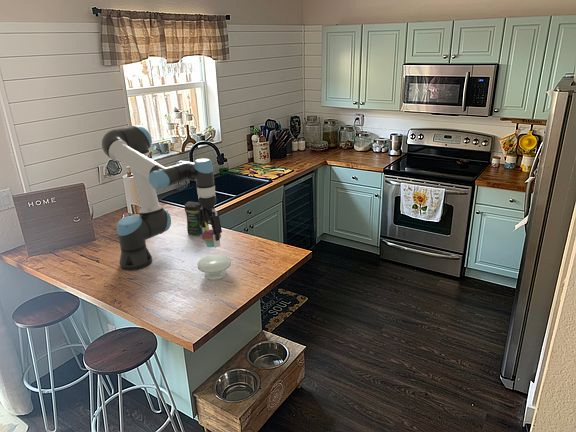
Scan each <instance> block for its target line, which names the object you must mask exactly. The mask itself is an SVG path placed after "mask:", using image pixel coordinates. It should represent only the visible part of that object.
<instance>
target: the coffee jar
mask: <svg viewBox="0 0 576 432" xmlns="http://www.w3.org/2000/svg"><path fill="white" fill-rule="evenodd" d="M198 205H199V201H187V202H186V203H185V204H184V211H185V215H186V228H187V229H186V231H187V234H188V235H192V236H202V234H203V227H202V225H200V224H199V207H198Z"/></svg>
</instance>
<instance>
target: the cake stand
mask: <svg viewBox="0 0 576 432" xmlns="http://www.w3.org/2000/svg"><path fill="white" fill-rule="evenodd" d="M231 265H232V260H231V258H230V257H229V256H227V255H224V254H212V255H208V256H205V257H202V258H200V259H199V260H198V262H197V270H199V271H200V272H202V273H203V275H204V278H205V279H207V280H208V281H218V280H221V279H223V278H225V277H226V276H227V270H228V269H229V268H230V267H231Z"/></svg>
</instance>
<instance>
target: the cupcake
mask: <svg viewBox="0 0 576 432" xmlns="http://www.w3.org/2000/svg"><path fill="white" fill-rule="evenodd" d="M205 225H206V228H207V231H205V232H203V234H202V235H201V239H202V241H204V242H205V245H206V247H207V248H215V247H214V241H213V233H214V232H213V229H209V230H208V227H209V226H207V223H206V222H205ZM219 237H220V239H221V238H222V234H221V233H219Z"/></svg>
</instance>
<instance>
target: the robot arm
mask: <svg viewBox="0 0 576 432" xmlns="http://www.w3.org/2000/svg"><path fill="white" fill-rule="evenodd" d="M152 144H153V139H152V136H151V134H150V132H149V131H148V130H147V128H146V127H145V126H142V125H130V126H127V127H121V128H117V129H111V130H109V131H107V132H106V133H105V134H104V136H103V137H102V139H101V149H102V150H103V152H104V154H105V155H106V156H107V157H108V158H110V159H112V160H113V161H118V162H121V163H123V164H124V165H126V166H127V167H129V168H130V170H131V173H132V177H133V181H134V185H135V190H136V193H137V197H138V201H139V205H140V209H139V211H138V212H139V213H138V214H132V215H128V216H124V217H122V218H121V219H120V220H118V222H117V223H116V234H117V236H118V240H119V241H118V242H119V246H120V251H121V252H120V258H119V267H120V269H122V270H124V271H138V270H142V269H144V268H147V267H149V266H150V265H151V264H152V263H153V256H152V255H151V253H150V251H149V249H148V247H147V244H146V241H147V240H148V239H151V238H154V237H157V236H158V235H161V234H164V233H165V232H167V231H168V230H169V229H170V228H171V224H172V218H171V213H170V212H168V210H167V209H165V208H164V206H163V205H162V204H160V203H159V199H158V195H157V191H156V190H161V189H166V188H167V187H170V186H173V185H175V184H179V183H182V182H185V181H194V182H195V183H196V192H197V196H198V200H197V202H198V203H199V205H198V207H199V224H200V225H202V227H203V232H205V231H207V228H206V225H205V222H206V223H207V227H208V230H210V227H209V222H210V224H211V225H210V226H211V228H212V230H213V232H214V233H213V241H214V247H213V248H215V249H216V248H218V247H221V238H220V237H219V233H220V234H221V233H223V230H222V226H221V219H220V212H219V210H216V209H215V205H216V204H217V196H216V185H215V177H214V167H213V162H212V160H211V159H210V158H198V159H196V160H194V161H193V162H192V161H187V160H179V161H177V162H176V163H175V164H174V165H169V166H167V167H165V166H164V165H161V164H160V163H158V162H157V161H155V160H153V159H151V158H149V157H148V156H149V154H150V150H149V149H150V148H151V147H152Z"/></svg>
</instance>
